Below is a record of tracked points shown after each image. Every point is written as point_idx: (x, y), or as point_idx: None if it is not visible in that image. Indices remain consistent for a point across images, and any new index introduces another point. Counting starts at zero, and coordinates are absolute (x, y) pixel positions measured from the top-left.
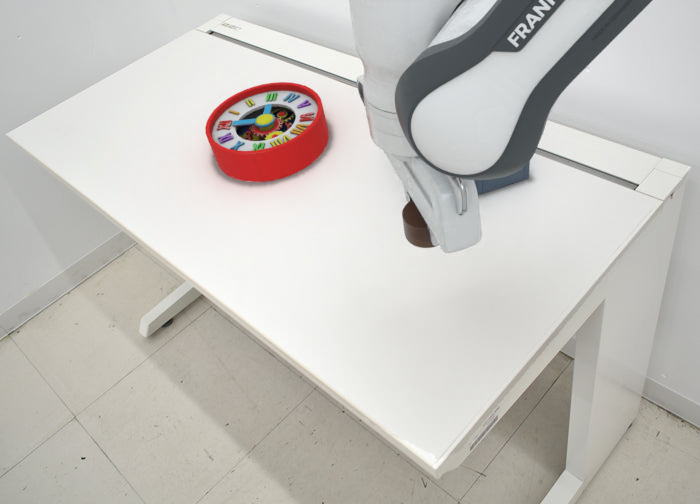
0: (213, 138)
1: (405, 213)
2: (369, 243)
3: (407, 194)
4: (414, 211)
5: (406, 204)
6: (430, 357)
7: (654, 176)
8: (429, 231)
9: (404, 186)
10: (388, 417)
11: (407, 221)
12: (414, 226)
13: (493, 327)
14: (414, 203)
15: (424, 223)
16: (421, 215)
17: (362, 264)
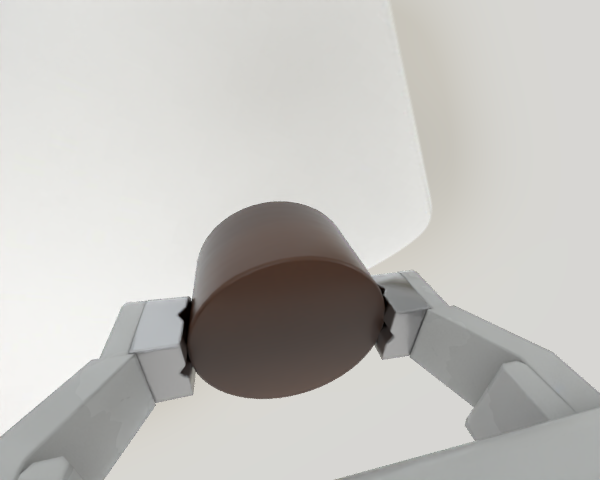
0: None
1: (266, 392)
2: (49, 219)
3: (166, 396)
4: (271, 370)
5: (218, 389)
6: (327, 196)
7: None
8: (406, 353)
9: (130, 435)
10: (370, 259)
11: (306, 388)
12: (341, 375)
13: (326, 82)
14: (225, 368)
15: (347, 349)
16: (305, 354)
17: (110, 240)
